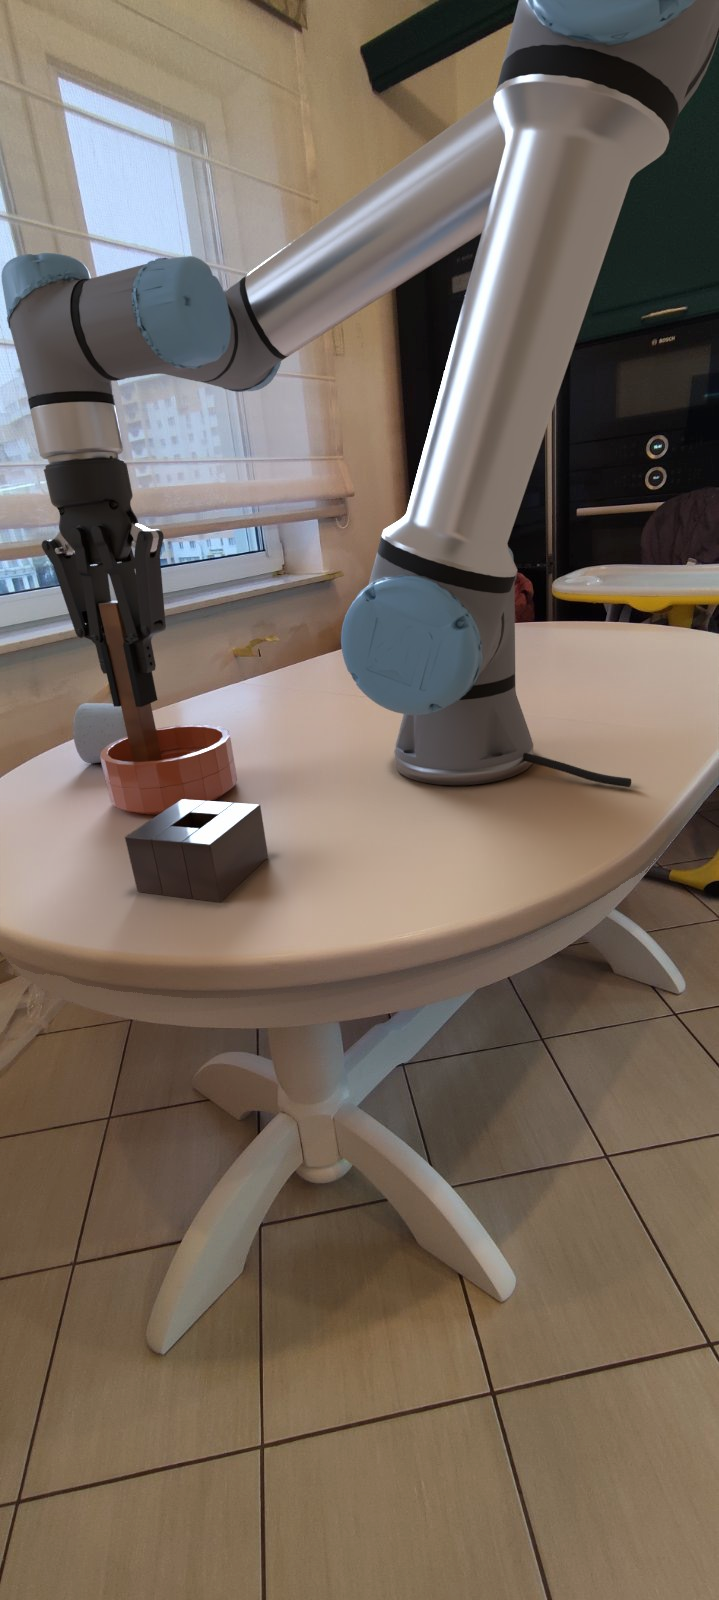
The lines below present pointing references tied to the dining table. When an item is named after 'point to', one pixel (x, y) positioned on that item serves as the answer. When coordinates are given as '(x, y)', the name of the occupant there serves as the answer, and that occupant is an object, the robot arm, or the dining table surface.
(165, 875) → the holder
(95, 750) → the ceramic mug
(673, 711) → the dining table surface
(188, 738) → the bowl
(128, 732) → the stick
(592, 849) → the dining table surface
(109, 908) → the dining table surface
